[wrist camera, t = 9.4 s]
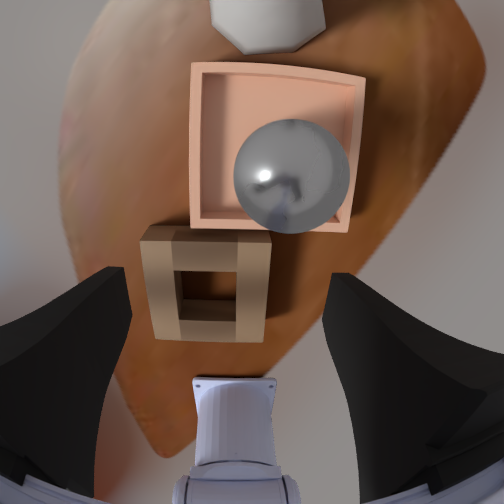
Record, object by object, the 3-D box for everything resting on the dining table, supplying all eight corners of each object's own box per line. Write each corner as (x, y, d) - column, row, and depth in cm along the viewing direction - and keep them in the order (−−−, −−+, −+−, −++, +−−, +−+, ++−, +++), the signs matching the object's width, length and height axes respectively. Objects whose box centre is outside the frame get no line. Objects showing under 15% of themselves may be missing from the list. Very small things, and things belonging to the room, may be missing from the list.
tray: (337, 221, 20) (347, 232, 18) (194, 216, 20) (190, 228, 18) (353, 80, 16) (365, 77, 14) (196, 67, 15) (191, 62, 13)
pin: (301, 187, 18) (340, 236, 11) (234, 183, 18) (231, 231, 11) (308, 120, 16) (356, 127, 9) (237, 115, 16) (236, 114, 9)
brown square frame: (260, 320, 24) (262, 342, 21) (161, 318, 23) (155, 338, 21) (267, 227, 20) (271, 243, 18) (149, 225, 20) (139, 240, 17)
